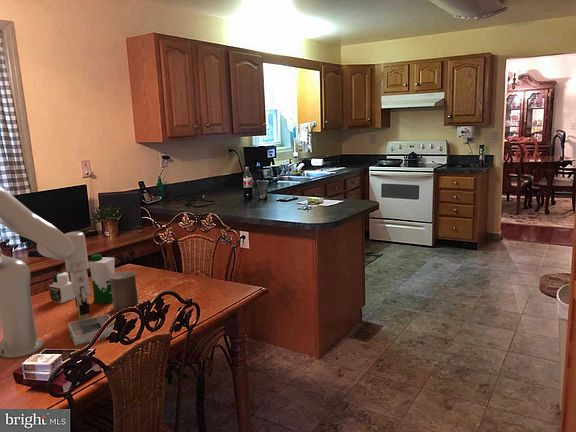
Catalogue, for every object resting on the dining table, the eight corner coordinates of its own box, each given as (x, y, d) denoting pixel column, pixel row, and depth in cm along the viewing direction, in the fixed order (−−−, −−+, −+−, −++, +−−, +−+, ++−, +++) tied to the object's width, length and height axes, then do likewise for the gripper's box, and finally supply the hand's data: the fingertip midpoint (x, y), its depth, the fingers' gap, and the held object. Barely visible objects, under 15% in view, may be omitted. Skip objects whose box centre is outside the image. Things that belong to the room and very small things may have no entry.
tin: (75, 346, 154) (73, 337, 154) (68, 332, 166) (67, 323, 165) (118, 335, 162) (117, 326, 161) (109, 322, 173) (108, 313, 173)
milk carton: (102, 296, 201) (97, 252, 198) (121, 297, 200) (116, 252, 196) (90, 303, 193) (84, 257, 189) (110, 304, 191) (104, 258, 187)
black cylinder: (81, 326, 171) (77, 296, 168) (79, 323, 173) (75, 293, 171) (89, 324, 172) (85, 294, 170) (88, 321, 175) (84, 291, 172)
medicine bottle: (50, 301, 198) (47, 274, 195) (65, 295, 204) (61, 269, 202) (61, 303, 194) (58, 276, 192) (76, 297, 201) (72, 271, 198)
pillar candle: (142, 306, 188) (139, 271, 185) (119, 313, 181) (115, 277, 179) (131, 301, 195) (128, 266, 192) (109, 307, 188) (105, 272, 185)
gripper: (92, 269, 163) (98, 315, 166) (84, 258, 177) (89, 301, 181) (69, 273, 159) (75, 320, 162) (62, 262, 173) (68, 305, 177)
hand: (83, 310), depth 171 cm, fingers open, 8 cm apart
